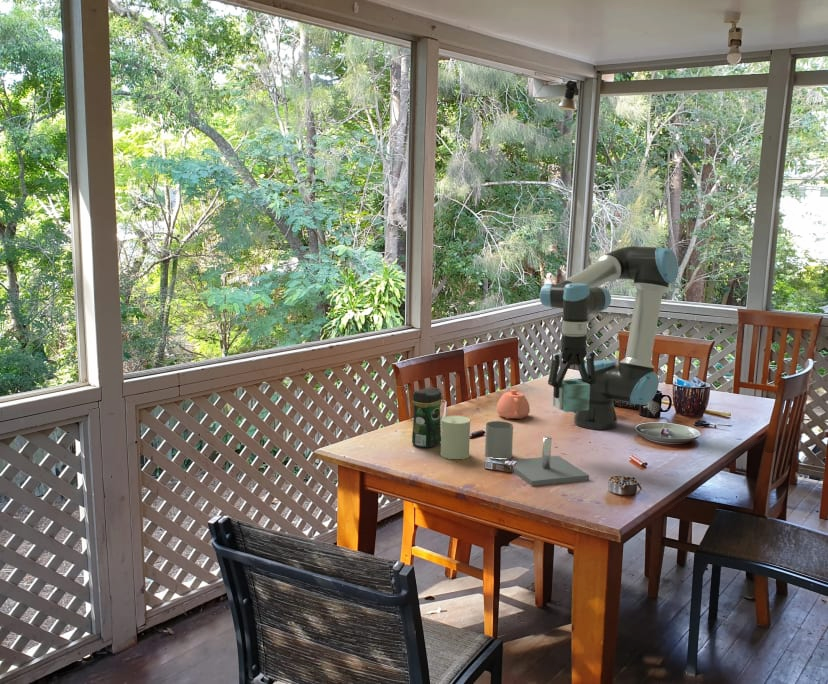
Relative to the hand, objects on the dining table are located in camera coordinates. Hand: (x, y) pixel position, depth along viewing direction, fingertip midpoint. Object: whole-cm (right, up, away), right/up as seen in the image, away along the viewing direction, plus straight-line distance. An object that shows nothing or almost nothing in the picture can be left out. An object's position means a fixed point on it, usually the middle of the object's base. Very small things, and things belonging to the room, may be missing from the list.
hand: (570, 406), depth 237 cm
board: (-10, -18, -13) cm, 24 cm away
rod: (-10, -17, -13) cm, 24 cm away
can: (-36, -15, +1) cm, 39 cm away
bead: (0, 0, 0) cm, 0 cm away
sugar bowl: (-12, -8, +47) cm, 49 cm away
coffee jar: (-45, -13, +12) cm, 48 cm away
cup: (-22, -16, +2) cm, 27 cm away
